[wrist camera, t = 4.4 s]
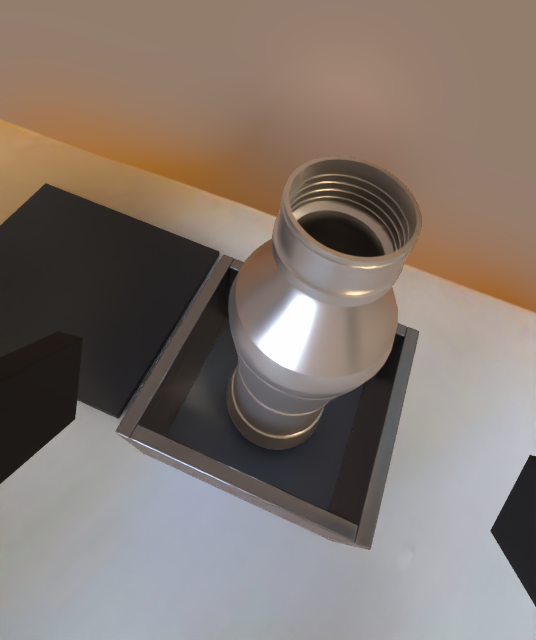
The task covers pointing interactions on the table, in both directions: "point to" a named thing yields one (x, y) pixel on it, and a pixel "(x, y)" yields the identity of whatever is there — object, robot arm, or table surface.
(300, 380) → the metal bottle
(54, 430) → the robot arm
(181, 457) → the steel caddy
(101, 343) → the slate mat
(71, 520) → the table surface
